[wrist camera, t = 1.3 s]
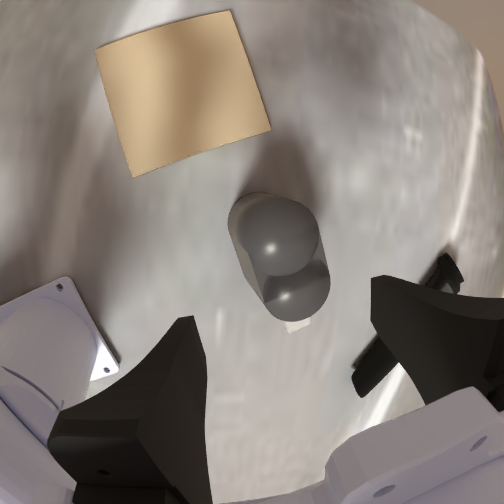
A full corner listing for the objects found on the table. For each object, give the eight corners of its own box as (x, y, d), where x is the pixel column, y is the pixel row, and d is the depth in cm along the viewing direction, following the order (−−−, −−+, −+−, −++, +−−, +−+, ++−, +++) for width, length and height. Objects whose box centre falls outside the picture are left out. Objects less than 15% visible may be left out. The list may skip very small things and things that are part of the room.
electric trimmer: (334, 371, 27) (351, 391, 24) (442, 248, 26) (465, 257, 23) (354, 386, 28) (370, 405, 25) (453, 271, 28) (475, 281, 25)
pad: (133, 177, 18) (132, 177, 17) (96, 53, 15) (94, 50, 15) (268, 131, 19) (271, 130, 19) (228, 14, 16) (229, 10, 16)
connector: (219, 204, 20) (235, 215, 15) (276, 184, 20) (308, 189, 16) (260, 321, 23) (283, 358, 18) (309, 300, 23) (341, 330, 19)
